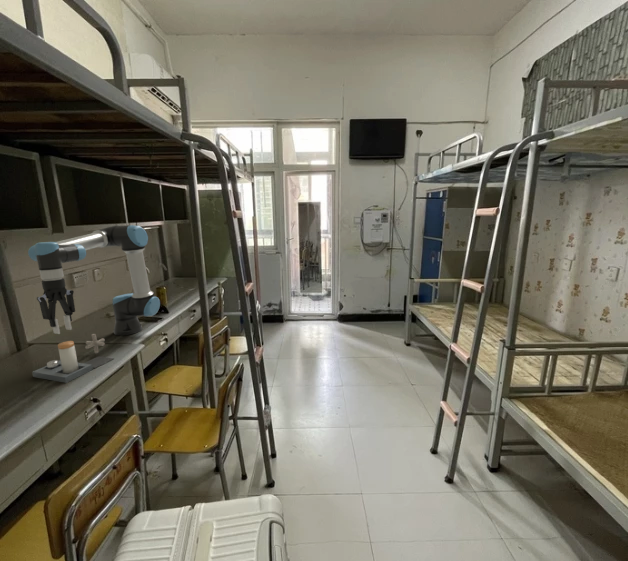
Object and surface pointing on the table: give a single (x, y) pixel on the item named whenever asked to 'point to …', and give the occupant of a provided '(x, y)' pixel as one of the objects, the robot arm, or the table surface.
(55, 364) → the plunger
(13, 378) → the table surface
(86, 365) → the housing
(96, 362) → the mat
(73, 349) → the cartridge
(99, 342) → the pipe connector
